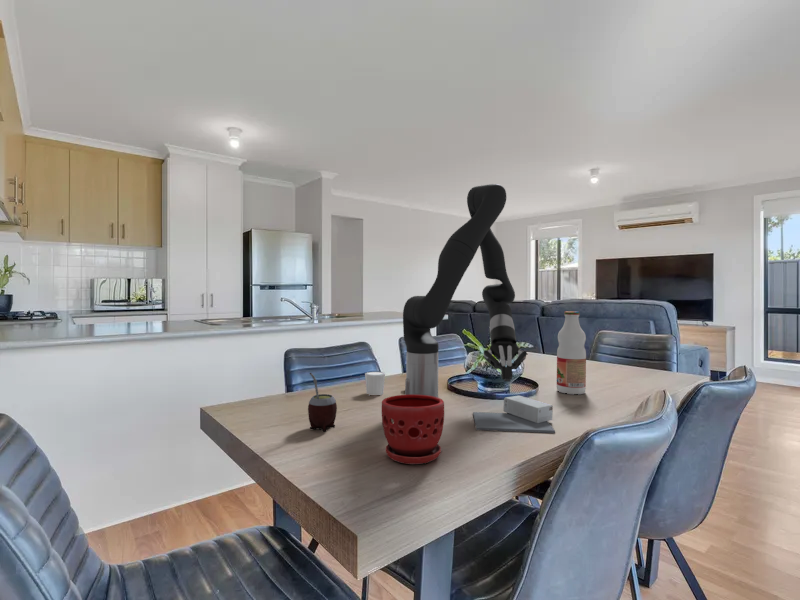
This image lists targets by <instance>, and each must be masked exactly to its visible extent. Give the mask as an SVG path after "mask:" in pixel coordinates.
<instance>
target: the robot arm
mask: <svg viewBox="0 0 800 600" xmlns="http://www.w3.org/2000/svg"><path fill="white" fill-rule="evenodd" d="M506 201H507V191H506V188H505V187H504V186H503V185H501V184H497V183H490V184H483V185H477V186H474V187H472V188H470V190H468V193H467V197H466V202H467V203H466V204H467V209H468V212H469V216H470V219H469V220H468V221H467V222H466V223H464V224H463V225H462V226H460V227H459V228H458V229H456V231H455V232H454V233H452V234H451V235H450V237H449V238H448V240H447V241H446V243H445V245H444V246H443V248H442V250H441V251H440V254H439V257H438V261H437V262H438V263H437V275H436V277H435V280H434V282H433V284H432V285H431V287H430V289H429V290H428V292H427V293H426V295H414V296H411V297H409V298H408V299H406V300H407V301H406V302H405V304H404V306H403V310H402V324H403V325H402V326H403V328H402V329H403V340H404V343H405V346H406V348H405V349H406V357H405V358H406V359H405V360H406V362H405V364H406V367H405V368H406V371H405V373H406V378H405V379H404V380H405V385H404V387H405V388H404V389H405V390H404V392H405V393H404V395H428V396H434V397H438V398H439V343H438V341H437V340H436V339H435V338H434V337H433V334H432V333H431V329H435V328H436V327H438V326H439V325H440V324H441V323H442V321H443V320H444V318H445V316H446V313H447V312H448V309H449V306H450V304H451V301H452V299H453V297H454V294H455V292H456V290H457V288H458V286H459V284H460V283H461V281H462V279H463V277H464V275H465V273H466V271H467V270H468V268H469V267H470V265H471V263H472V261H473V260H474V257H475V255H476V253H477V251H478V249H479V248H480V252H481V259H482V266H483V273H484V276H485V278H487V279H490V280H498V281H500V283H495V284H489V285H486V286H484V288H483V289H482V292H481V294H482V295H481V296H482V299H483V302H484V303H485V306H486V309H487V310H488V315H489V316H488V317H489V336H490V346H489V349H488V350H486V349H485V350H483V355H482V356H483V359H484V360H485V361H487V363H489V365H491V366H492V367H493V369H496V370H500V374H501V380H504V381H503V382H510V381H511V380H512V379H513V370H514V371H515V370H517V369H518V368H519V367H520V366H521V364H522V363H523V362H524V361H525V360H526V359H527V354H528V353H527V351H526V350H520V347H519V346H518V343H517V336H516V330H515V323H514V321H513V313H512V308H511V306H510V305H509V304H512V303H513V302H514V301H515V297H516V293H515V290H514V287H513V284H512V283H511V281H510V278H509V276H508V273H507V266H506V261H505V255H504V253H505V252H504V250H503V248H502V245H501V243H500V242H499V241H498V238H496V236H495V234H494V232H493V231H492V226H493V224H495V222H496V220H497V219H498V217H499V216H500V215H501V213H502V212H503V210H504V208H505V206H506V203H507V202H506ZM516 356H517V358H516ZM514 359H515V360H514ZM512 360H514V361H512Z"/></svg>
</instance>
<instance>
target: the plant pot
mask: <svg viewBox="0 0 800 600" xmlns="http://www.w3.org/2000/svg"><path fill="white" fill-rule="evenodd" d="M381 421H382V428H383V430H382V431H383V433H384V437H385V439H386V442H387V445H386V446H385V453H386V455H387V456H388V457H389V458H390V459H392V460H393V461H395V462H398V463H401V464H406V465H421V464H423V463H425V464H424V465H427V464H428V463H431V462H433V461H435V460H436V459H437V458H438V457H439V456H440V455H441V454H442V446H440V444H439V441H440V440H441V438H442V434H443V431H444V426H445V425H444V423H445V401H444V400H443V399H442V398H440V397H439V396H438V397H434V396H428V395H405V394H399V395H392V396H389V397H385V398H384V399H383V400H382V401H381ZM426 463H427V464H426Z"/></svg>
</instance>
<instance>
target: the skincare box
mask: <svg viewBox="0 0 800 600" xmlns="http://www.w3.org/2000/svg"><path fill="white" fill-rule="evenodd" d="M553 408H554V407H553V404H549V403H546V402H543V401H539V400H537V399H533V398H530V397H529V398H528V397H526V396H522V395H515V396H514V395H513V396H507V397H504V398H503V413H509V414H512V415H515V416H518V417H520V418H523V419H526V420H529V421H532V422H535V423H541V422H545V421H548V422H549V421H553Z"/></svg>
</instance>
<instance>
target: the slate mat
mask: <svg viewBox="0 0 800 600" xmlns="http://www.w3.org/2000/svg"><path fill="white" fill-rule="evenodd" d="M472 415H473V421H474V423H475V424H474V426H475V430H476V431H492V430H499V431H500V432H520V433H521V432H523V433H545V434H547V433H548V434H556V430H555V429H554V428H553V426H552V425H551V424H550V422H549V421H545V422H541V423H535V422H532V421H529V420H526V419H523V418H520V417H518V416H515V415H512V414H509V413H506V412H481V411H472ZM499 431H498V432H499Z"/></svg>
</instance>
